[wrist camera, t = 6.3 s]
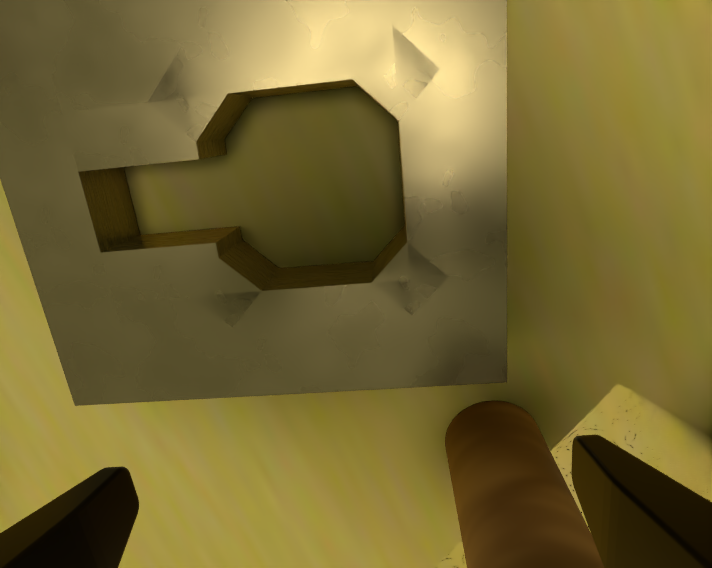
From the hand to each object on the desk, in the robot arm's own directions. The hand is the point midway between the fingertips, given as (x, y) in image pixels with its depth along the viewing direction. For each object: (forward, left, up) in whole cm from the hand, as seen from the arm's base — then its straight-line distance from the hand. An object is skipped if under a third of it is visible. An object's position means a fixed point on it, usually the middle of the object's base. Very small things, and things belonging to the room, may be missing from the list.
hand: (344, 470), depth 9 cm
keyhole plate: (+4, -4, -12) cm, 14 cm away
